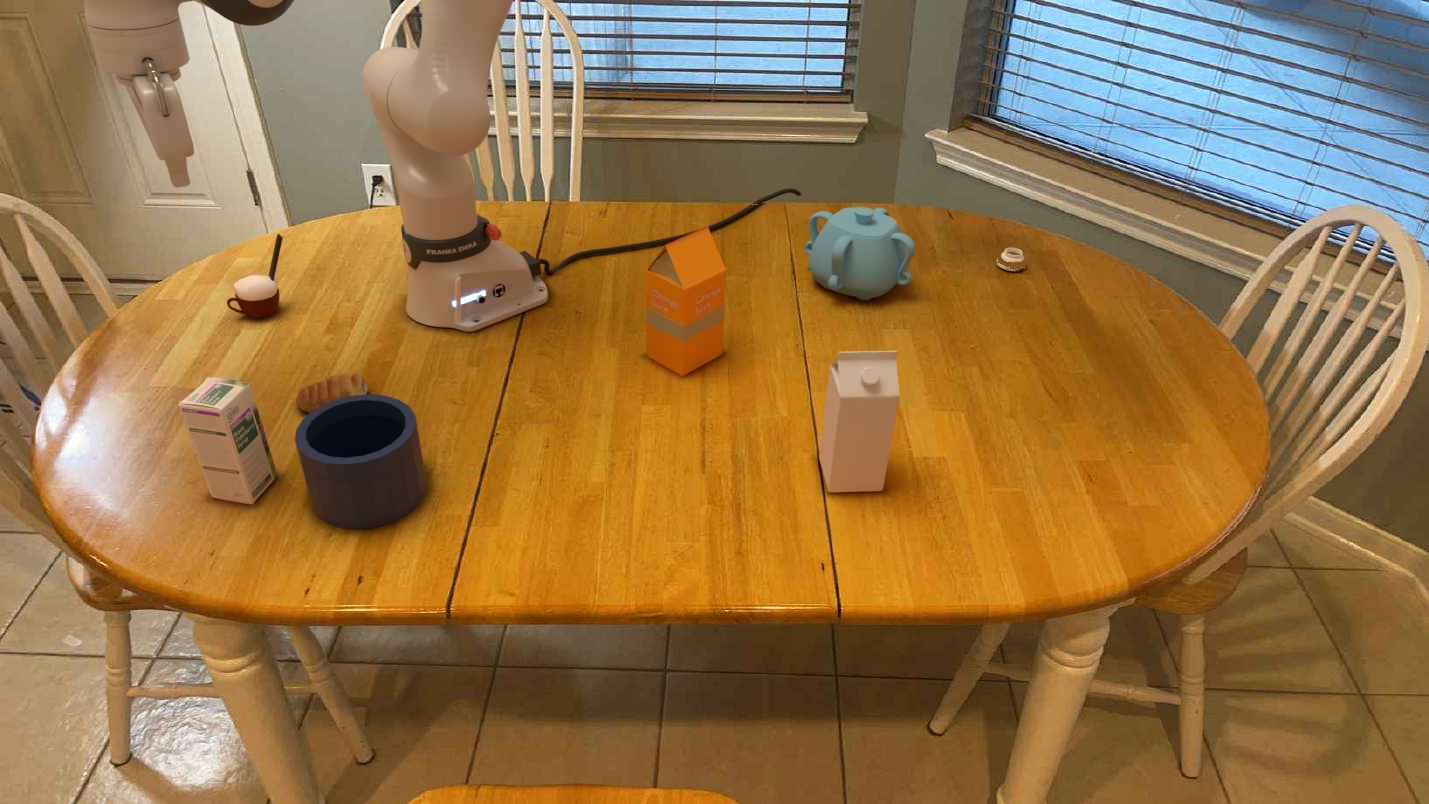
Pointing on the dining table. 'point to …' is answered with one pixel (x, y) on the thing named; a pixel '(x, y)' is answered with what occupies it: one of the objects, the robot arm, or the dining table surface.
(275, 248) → the cocoa
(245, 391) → the syrup box
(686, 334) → the orange juice
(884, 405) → the milk carton
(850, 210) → the decorative pot
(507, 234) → the dining table surface
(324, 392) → the pastry
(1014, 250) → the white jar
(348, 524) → the dark blue bin
